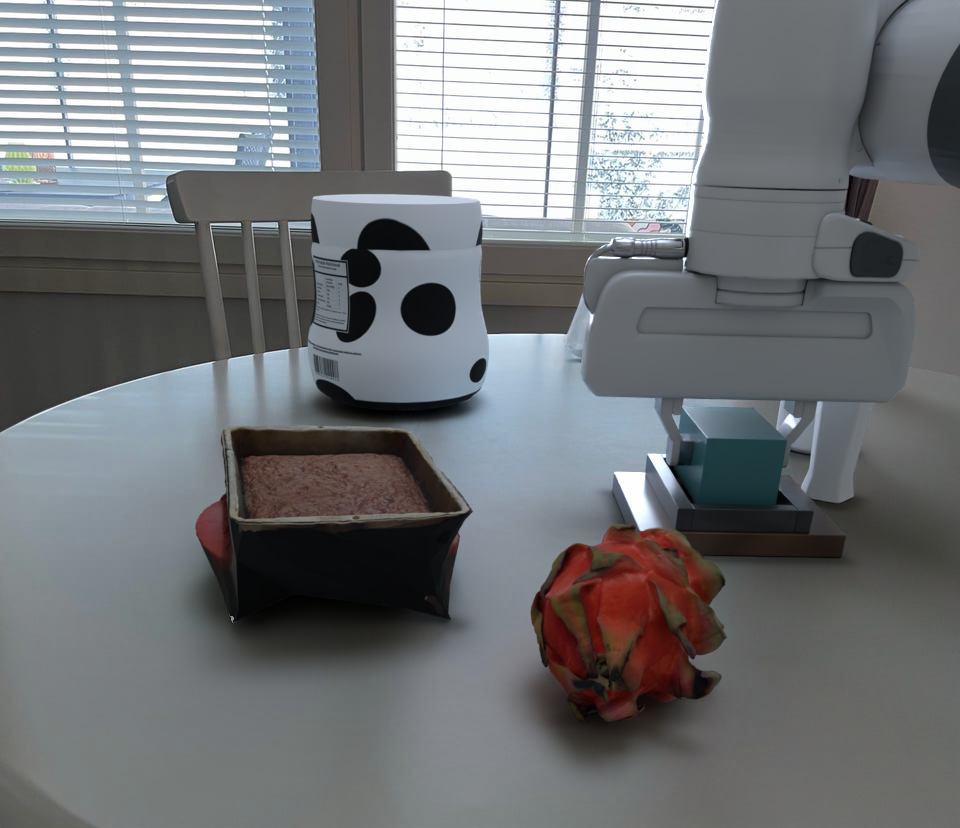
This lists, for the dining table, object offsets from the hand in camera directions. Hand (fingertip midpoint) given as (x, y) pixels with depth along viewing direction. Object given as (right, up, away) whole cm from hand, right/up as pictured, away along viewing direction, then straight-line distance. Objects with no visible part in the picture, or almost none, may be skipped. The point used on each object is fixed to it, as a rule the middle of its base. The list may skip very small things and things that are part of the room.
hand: (725, 464), depth 63 cm
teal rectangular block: (0, -1, +1) cm, 2 cm away
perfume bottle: (+10, -1, +8) cm, 12 cm away
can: (+13, +5, +19) cm, 23 cm away
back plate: (0, -4, +2) cm, 4 cm away
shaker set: (-1, +21, +49) cm, 53 cm away
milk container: (-24, +12, +30) cm, 40 cm away
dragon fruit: (-10, -14, -18) cm, 25 cm away
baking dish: (-25, -9, -8) cm, 28 cm away
